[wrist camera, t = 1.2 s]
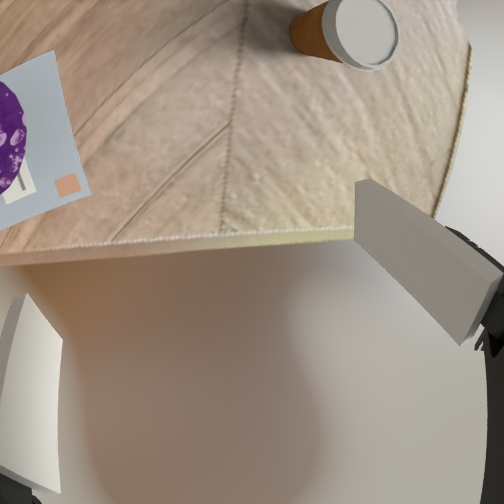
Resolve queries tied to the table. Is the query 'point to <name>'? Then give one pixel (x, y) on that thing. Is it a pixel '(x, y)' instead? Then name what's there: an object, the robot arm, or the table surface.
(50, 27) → the table surface
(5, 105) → the decorative mushroom
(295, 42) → the disposable coffee cup
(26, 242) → the table surface
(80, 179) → the letter
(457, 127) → the table surface
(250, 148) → the table surface
